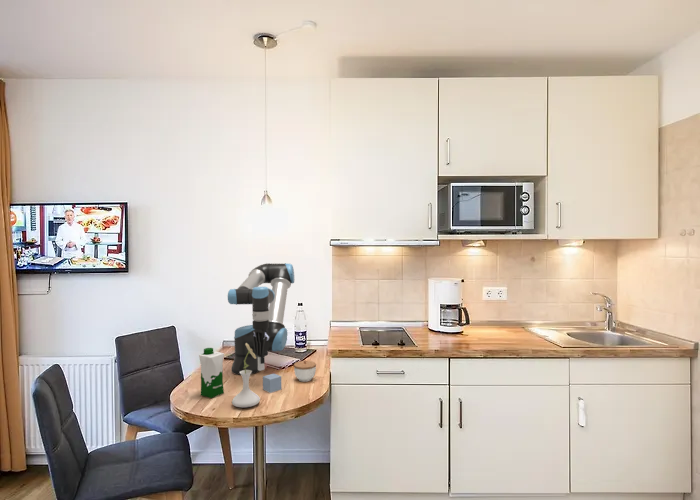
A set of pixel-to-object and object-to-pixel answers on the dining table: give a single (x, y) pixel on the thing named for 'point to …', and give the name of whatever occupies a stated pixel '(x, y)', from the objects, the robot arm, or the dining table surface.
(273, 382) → the block
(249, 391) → the flower in vase
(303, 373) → the lidded jar
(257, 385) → the dining table surface
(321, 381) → the dining table surface
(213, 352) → the milk carton
